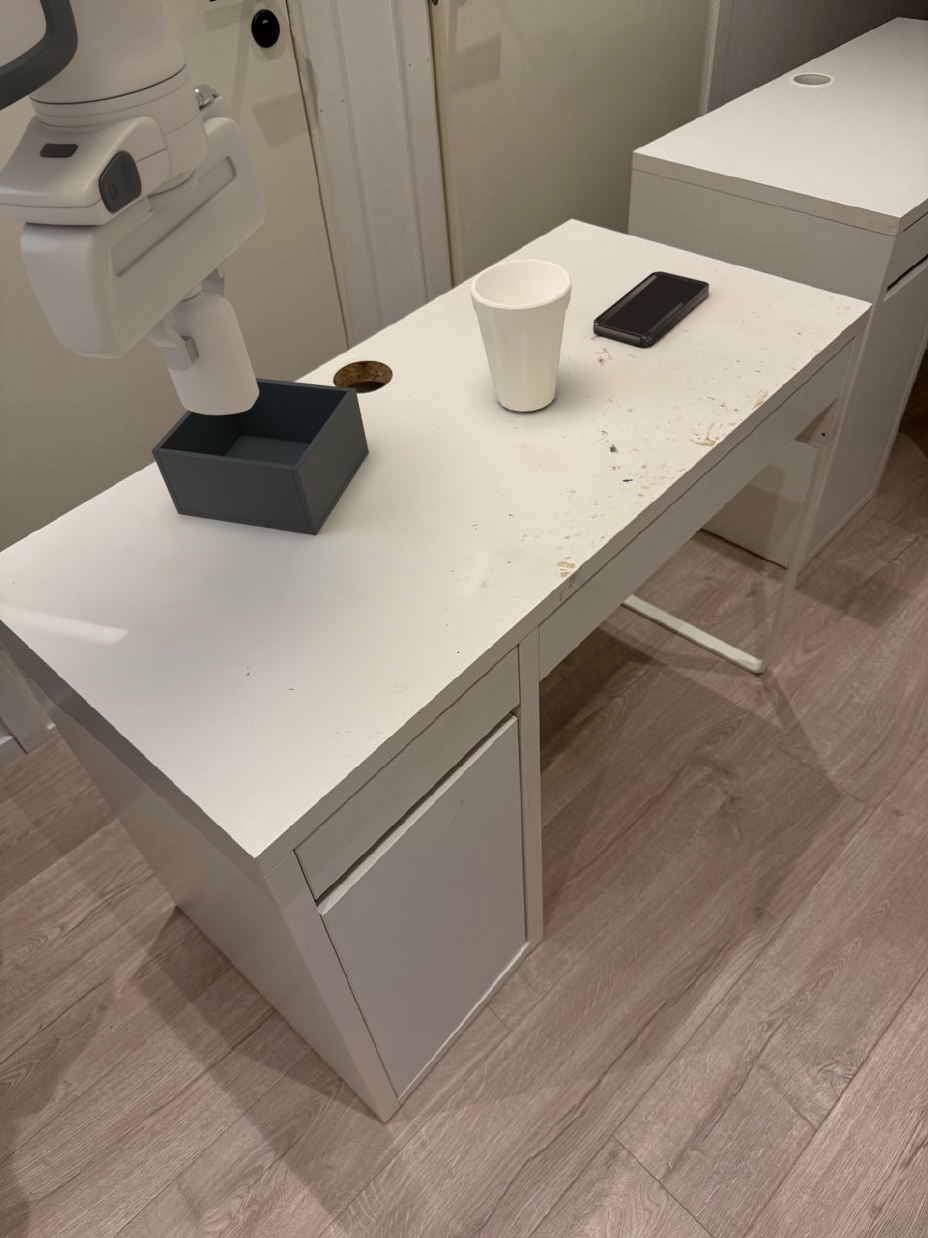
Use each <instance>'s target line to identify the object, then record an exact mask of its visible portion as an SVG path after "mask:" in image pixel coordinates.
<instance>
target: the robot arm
mask: <svg viewBox="0 0 928 1238" xmlns="http://www.w3.org/2000/svg"><path fill="white" fill-rule="evenodd" d="M27 96H28V99H29V101H30V103H31V106H32V108H33V110H34V113H35V114H34V115H33V116H32V117H31V118H30V120H29V121H28V123H27V125H26V127H25V130H24V133H22V136H21V138H20V140H19V142H18V144H17V145H16V148H14V150H13V152H12V154H11V155H10V156H9V158H8V160H7V161H6V163H5V165H4V166H3V167H2V169H1V170H0V211H1V213H2V214H3V216H4V217H5V218H7V220H10V221H14V222H20V223H24V224H23V226H22V228H21V231H20V237H19V249H20V254H21V259H22V262H23V265H24V268H25V272H26V274H27V276H28V279H29V281H30V284H31V286H32V289H33V291H34V294H35V296H36V298H37V300H38V301H37V302H38V303H39V305H40V307H41V309H42V311H43V314H44V316H45V318H46V320H47V322H48V325H49V326H50V328H51V330H52V332H53V334H54V335H55V337H56V339H57V341H58V342H59V343H60V345H61V346H62V347H63V348H64V349H67V350H68V351H70V352H72V353H74V354H75V355H78V356H79V357H86V358H93V359H94V358H96V359H107V360H118V359H121V358H123V356H125V355H126V354H127V353H128V352H129V351H130V350H131V349H132V348H133V347H134V346H135V345H136V344H137V343H139V341H141V340H142V339H143V338H144V337H145V338H146V339H147V340H149V341H150V342H151V343H152V344H153V345H155V347H158V348H159V351H160V354H161V356H162V359H163V361H164V364H165V365H166V367H167V369H168V368H170V369H171V370H179V371H187V370H188V369H189V368H190V367H191V366H192V365H193V363H194V362H195V361H196V360H197V359H198V356H199V355H198V352H197V351H196V350H195V344H194V341H193V338H192V337H187V336H182V337H180V336H179V334H178V333H177V332H176V331H175V330H174V329H173V328H172V327H171V325H174V324H175V322H176V320H175V317H174V314H173V311H172V309H173V308H174V307H175V306H176V305H177V304H178V303H179V302H180V301H182V300H183V299H184V298H185V297H186V296H187V295H188V294H189V293H190V292H191V291H192V290H193V289H194V288H195V287H196V286H197V285H198V284H200V283H201V286H202V288H201V289H204V290H207V291H210V292H213V293H215V294H218V295H220V296H222V297H223V298H225V299H226V300H228V301H229V297H230V281H231V280H230V278H231V277H230V276H231V270H230V269H231V268H230V266H229V263H228V259H227V258H228V257H230V255H232V253H233V252H235V251H236V250H237V249H238V248H239V247H240V246H241V245H242V244H243V243H244V242H245V241H246V240H248V238H249V237H250V236H252V234H254V233H255V232H256V231H257V230H258V229H259V228H260V227H261V226H262V225H263V224H264V223H265V220H266V213H267V212H266V211H267V210H266V209H267V201H266V196H265V193H264V189H263V186H262V183H261V180H260V177H259V174H258V171H257V168H256V165H255V162H254V158H253V156H252V153H251V150H250V148H249V146H248V143H247V141H246V138H245V136H244V133H243V132H242V130H241V128H240V126H239V125H238V123H237V122H236V121H235V120H234V119H233V118H232V117H231V113H230V108H229V105H228V103H227V101H226V99H225V97H224V96H223V95H221V94H220V93H219V92H218V91H217V90H216V89H214V88H212V87H210V85H208V84H206V83H200V84H197V85H195V86H193V83H192V78H191V75H190V72H189V68H188V65H187V61H186V57H185V55H184V52H183V50H182V48H181V46H180V44H179V42H178V40H177V39H176V37H175V35H174V34H173V32H172V29H171V28H170V26H169V22H168V21H167V17H166V14H165V11H164V8H163V4H162V0H0V112H1V111H2V110H4V109H6V108H8V107H10V106H12V105H13V104H15V103H17V102H19V101H20V100H22V99H24V98H25V97H27Z"/></svg>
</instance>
